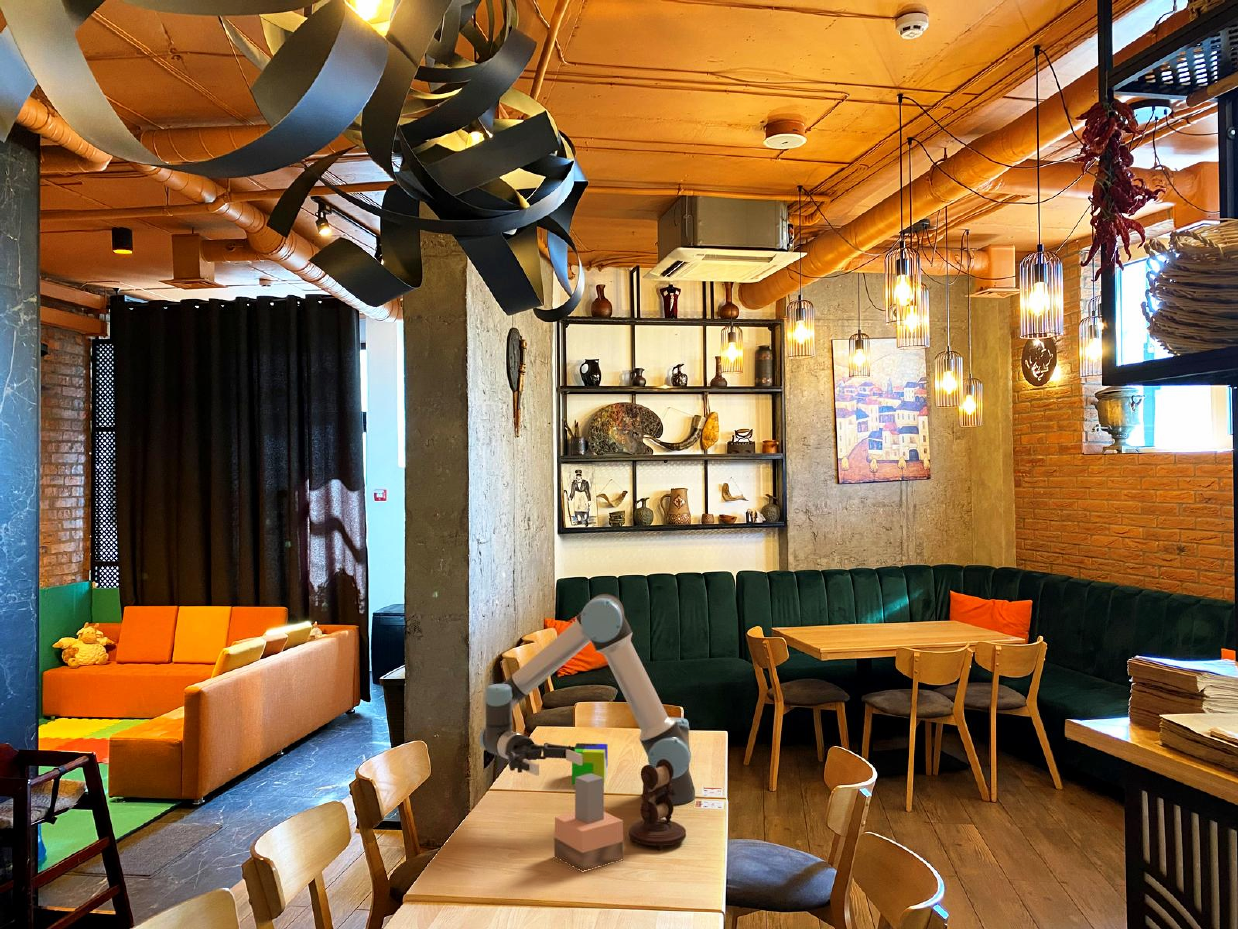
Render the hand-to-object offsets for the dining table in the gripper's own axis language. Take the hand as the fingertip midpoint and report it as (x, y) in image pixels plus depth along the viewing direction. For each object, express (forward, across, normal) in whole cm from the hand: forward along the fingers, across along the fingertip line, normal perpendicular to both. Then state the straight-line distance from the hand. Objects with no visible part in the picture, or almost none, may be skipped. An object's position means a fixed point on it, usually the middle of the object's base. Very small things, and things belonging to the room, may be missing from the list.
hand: (560, 765), depth 228 cm
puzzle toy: (-37, -36, -20) cm, 55 cm away
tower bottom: (+13, +1, -20) cm, 24 cm away
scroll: (+15, -20, -20) cm, 32 cm away
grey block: (+14, +1, -10) cm, 17 cm away
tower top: (+14, +1, -15) cm, 20 cm away
